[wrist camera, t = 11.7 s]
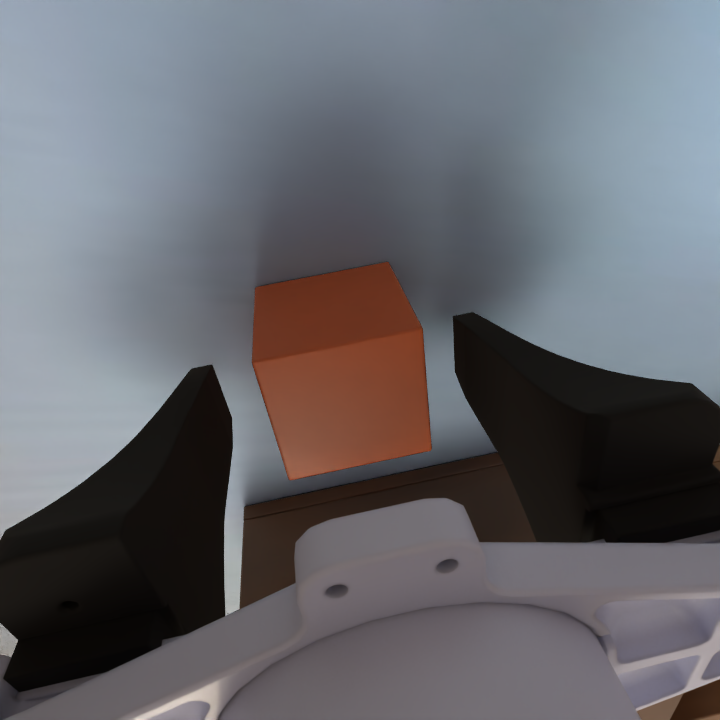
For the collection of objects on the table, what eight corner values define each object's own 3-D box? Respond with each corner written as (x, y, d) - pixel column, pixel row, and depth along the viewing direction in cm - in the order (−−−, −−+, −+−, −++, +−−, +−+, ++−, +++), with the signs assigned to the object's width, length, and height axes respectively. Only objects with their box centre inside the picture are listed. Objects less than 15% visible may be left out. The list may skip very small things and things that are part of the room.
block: (388, 260, 16) (423, 327, 12) (400, 369, 18) (432, 451, 15) (254, 286, 15) (250, 362, 12) (284, 393, 18) (288, 481, 14)
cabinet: (569, 436, 21) (716, 633, 14) (547, 596, 28) (638, 781, 21) (243, 506, 21) (231, 749, 14) (303, 653, 28) (316, 863, 21)
